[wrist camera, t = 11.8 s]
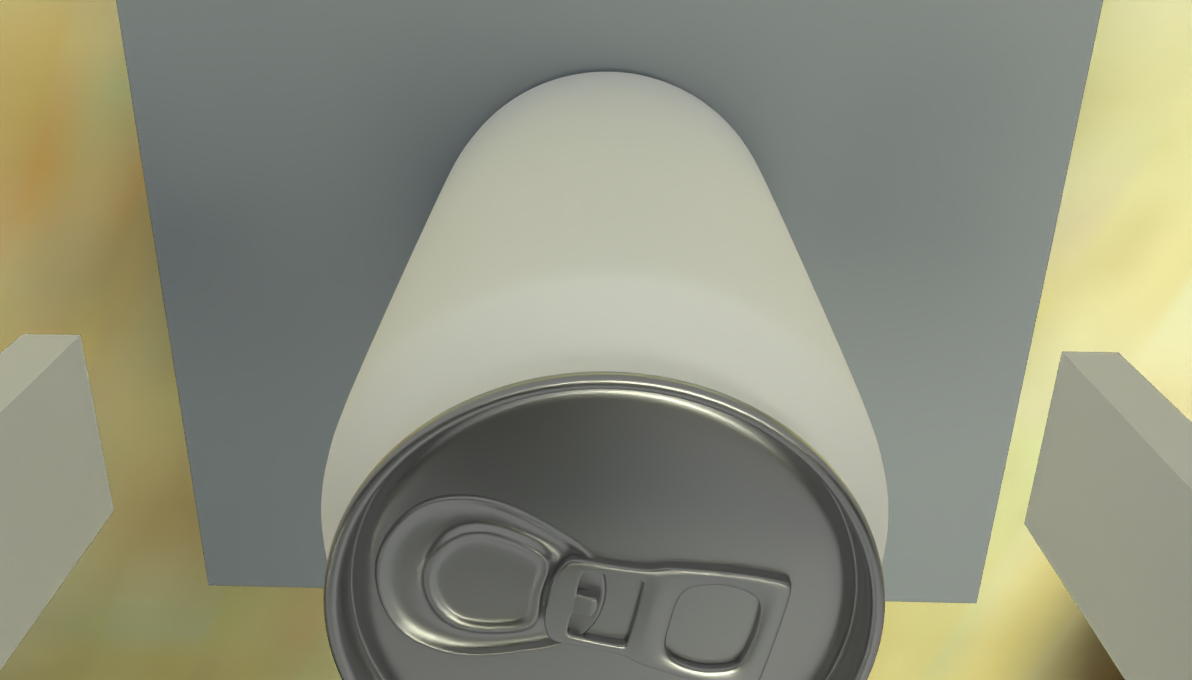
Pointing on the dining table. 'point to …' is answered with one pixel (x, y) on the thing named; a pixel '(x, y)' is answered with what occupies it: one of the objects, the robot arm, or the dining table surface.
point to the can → (604, 421)
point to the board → (573, 46)
